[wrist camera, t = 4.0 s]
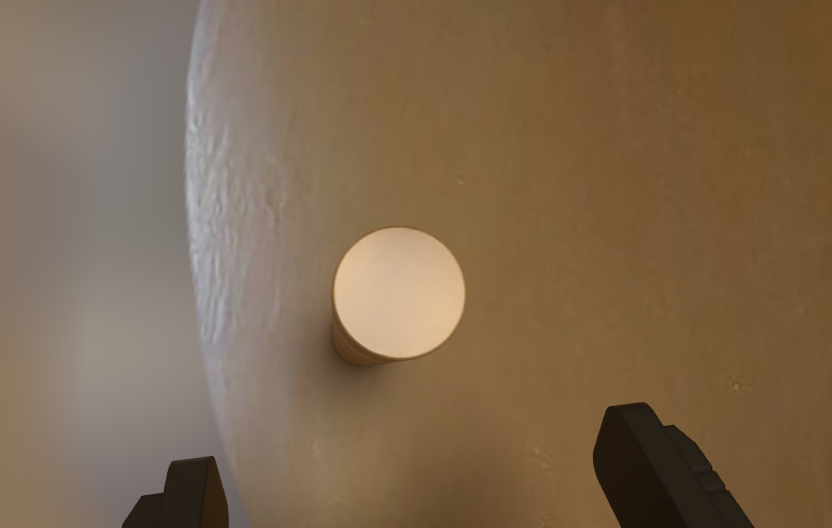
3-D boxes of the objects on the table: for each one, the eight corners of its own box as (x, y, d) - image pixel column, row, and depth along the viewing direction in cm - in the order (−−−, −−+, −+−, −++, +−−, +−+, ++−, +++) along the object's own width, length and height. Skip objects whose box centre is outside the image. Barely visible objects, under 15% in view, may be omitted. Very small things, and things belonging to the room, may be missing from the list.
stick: (329, 363, 26) (325, 355, 12) (335, 297, 26) (337, 218, 13) (396, 368, 26) (463, 364, 13) (400, 302, 27) (470, 231, 13)
